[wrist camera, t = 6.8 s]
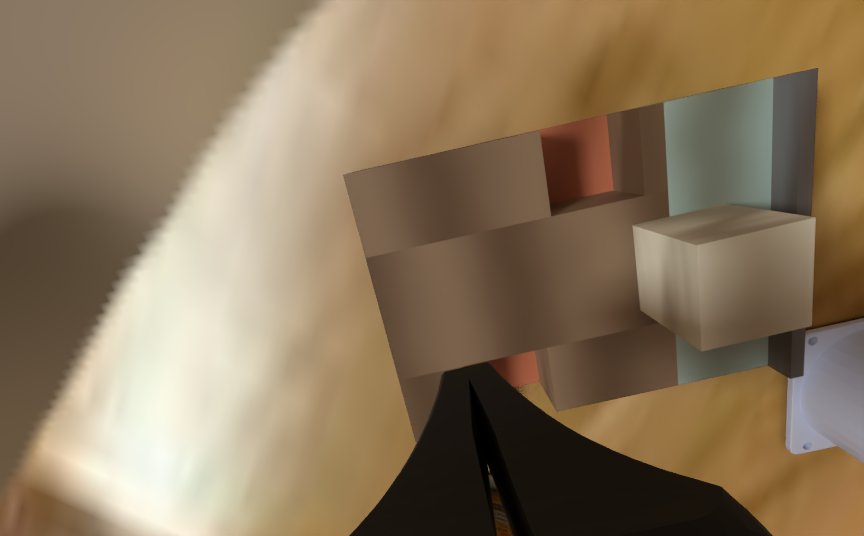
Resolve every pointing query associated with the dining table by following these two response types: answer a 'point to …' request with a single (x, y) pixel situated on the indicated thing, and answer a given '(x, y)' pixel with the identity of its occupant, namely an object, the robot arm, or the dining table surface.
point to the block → (726, 273)
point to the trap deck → (574, 243)
